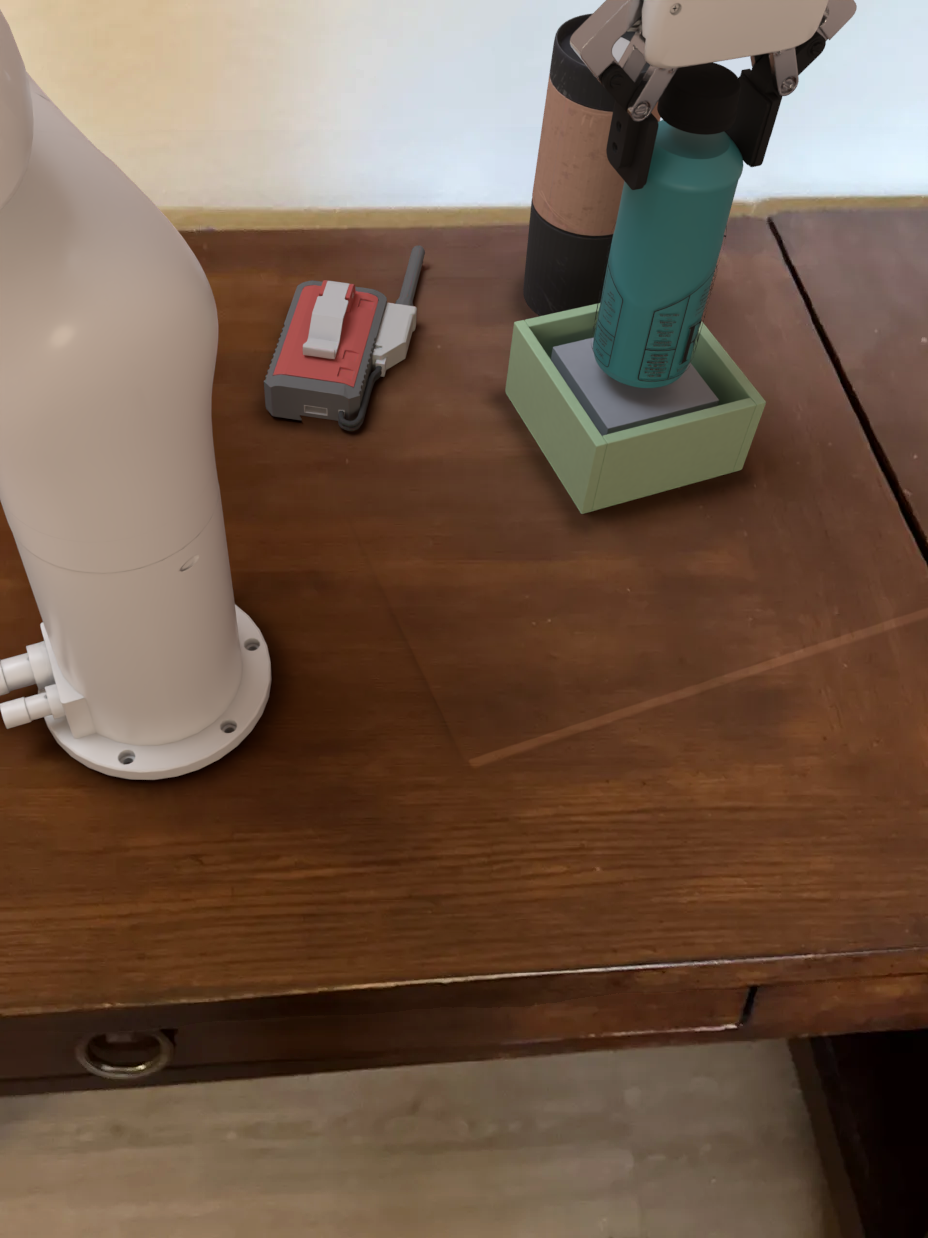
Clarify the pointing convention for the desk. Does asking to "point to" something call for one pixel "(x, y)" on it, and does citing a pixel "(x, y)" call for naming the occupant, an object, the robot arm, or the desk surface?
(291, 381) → the walkie-talkie
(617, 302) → the beverage bottle
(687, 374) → the block
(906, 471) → the desk surface
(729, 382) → the crate
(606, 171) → the travel mug
